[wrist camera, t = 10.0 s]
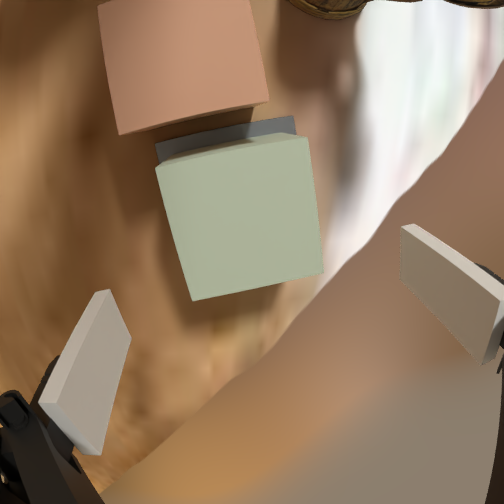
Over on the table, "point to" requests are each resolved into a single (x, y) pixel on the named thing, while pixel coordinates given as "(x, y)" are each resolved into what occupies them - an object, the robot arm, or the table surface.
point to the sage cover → (243, 213)
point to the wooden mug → (349, 3)
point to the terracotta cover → (179, 60)
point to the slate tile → (224, 136)
